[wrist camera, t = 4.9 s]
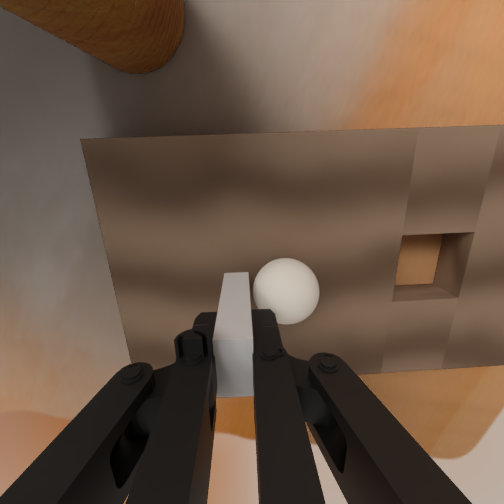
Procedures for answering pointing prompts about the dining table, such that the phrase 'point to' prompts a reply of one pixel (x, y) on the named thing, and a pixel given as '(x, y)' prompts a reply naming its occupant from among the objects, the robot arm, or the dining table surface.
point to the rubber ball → (286, 290)
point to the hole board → (311, 237)
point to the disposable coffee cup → (111, 28)
